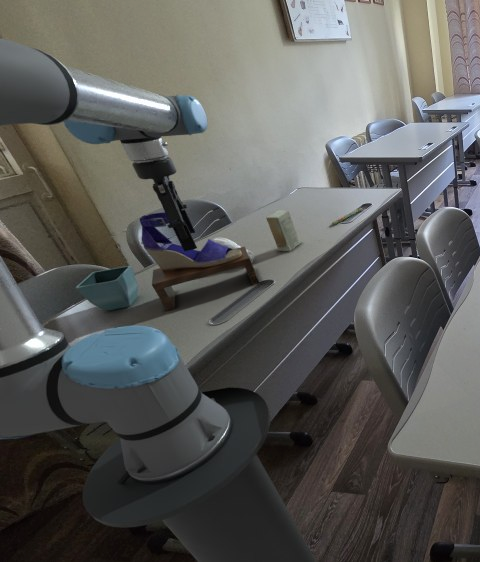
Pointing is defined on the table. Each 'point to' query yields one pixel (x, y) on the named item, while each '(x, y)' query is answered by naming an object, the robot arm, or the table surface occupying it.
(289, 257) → the table surface
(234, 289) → the table surface
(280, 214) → the cosmetic box
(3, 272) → the robot arm
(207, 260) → the sandal
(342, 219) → the pencil
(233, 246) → the white rounded piece
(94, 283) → the flower pot
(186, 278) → the shoe shelf
